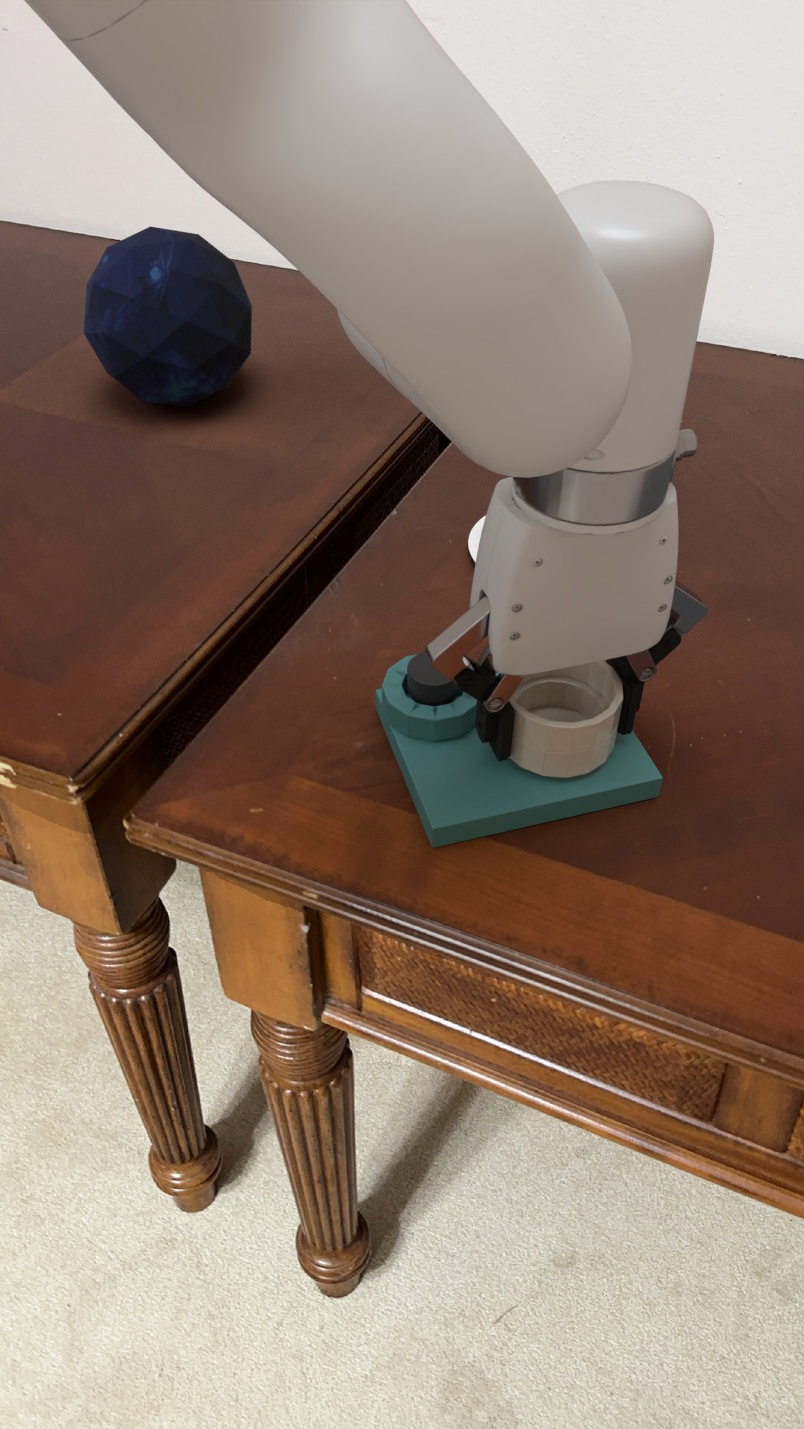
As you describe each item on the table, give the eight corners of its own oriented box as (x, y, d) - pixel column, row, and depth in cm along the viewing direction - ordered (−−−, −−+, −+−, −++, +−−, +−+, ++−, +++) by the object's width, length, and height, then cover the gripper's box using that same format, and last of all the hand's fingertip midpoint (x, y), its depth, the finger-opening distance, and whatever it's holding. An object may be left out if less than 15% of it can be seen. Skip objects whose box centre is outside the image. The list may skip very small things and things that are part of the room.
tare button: (415, 711, 66) (416, 689, 64) (400, 677, 68) (400, 655, 67) (466, 701, 66) (467, 679, 65) (450, 667, 68) (451, 646, 67)
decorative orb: (145, 406, 88) (208, 219, 85) (24, 354, 95) (79, 180, 92) (252, 445, 101) (310, 284, 98) (138, 398, 107) (190, 245, 104)
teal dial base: (431, 849, 62) (432, 807, 60) (372, 703, 71) (371, 662, 68) (658, 797, 65) (668, 755, 62) (575, 663, 74) (581, 622, 71)
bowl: (520, 794, 63) (527, 737, 60) (480, 714, 67) (484, 658, 64) (631, 769, 64) (643, 713, 61) (584, 693, 69) (593, 637, 66)
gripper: (716, 406, 57) (661, 665, 70) (396, 454, 54) (397, 718, 66) (792, 479, 52) (718, 745, 64) (443, 538, 49) (435, 808, 61)
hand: (555, 729), depth 65 cm, fingers closed on bowl, 7 cm apart
